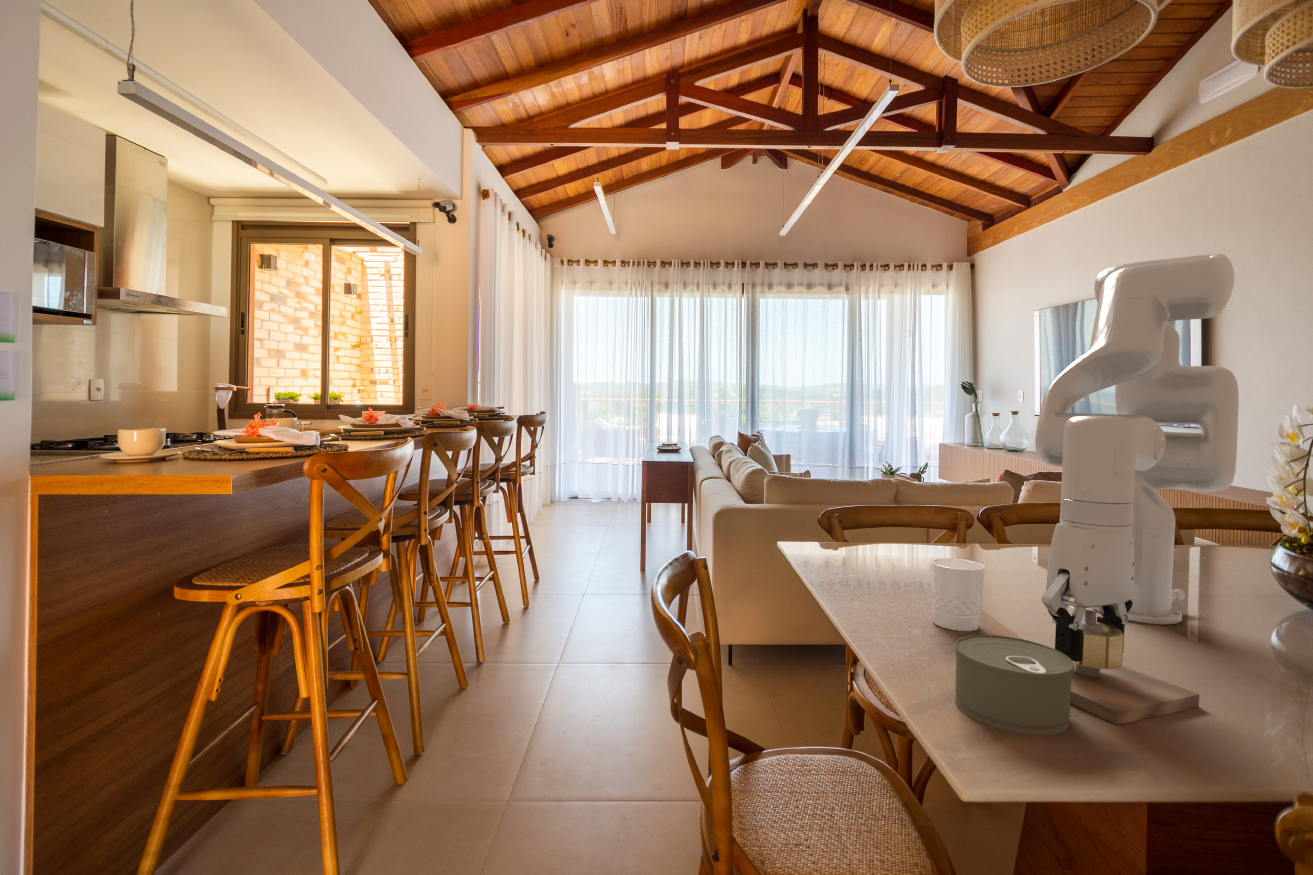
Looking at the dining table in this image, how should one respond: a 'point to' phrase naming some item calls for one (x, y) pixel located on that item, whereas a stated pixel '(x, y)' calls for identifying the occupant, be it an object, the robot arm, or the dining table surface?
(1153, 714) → the post block
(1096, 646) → the ring
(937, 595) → the white cup
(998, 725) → the can
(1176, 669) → the dining table surface
